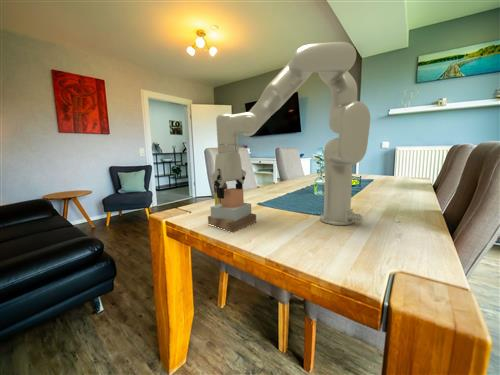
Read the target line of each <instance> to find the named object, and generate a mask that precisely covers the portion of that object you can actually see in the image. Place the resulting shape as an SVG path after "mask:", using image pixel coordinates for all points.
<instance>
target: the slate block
mask: <svg viewBox="0 0 500 375" xmlns="http://www.w3.org/2000/svg"><path fill="white" fill-rule="evenodd" d="M251 213H252V203H249V202H248V203H247V202H244V205H242V206H238V207H234V208H229V207H225V206H221V204H218V205H215V204H214V205H213V206H210V216H211V217H212V218H218V219H224V220H230V221H237V220H239V219H241V218H243V217H245V216H247V215H250V214H251Z"/></svg>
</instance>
